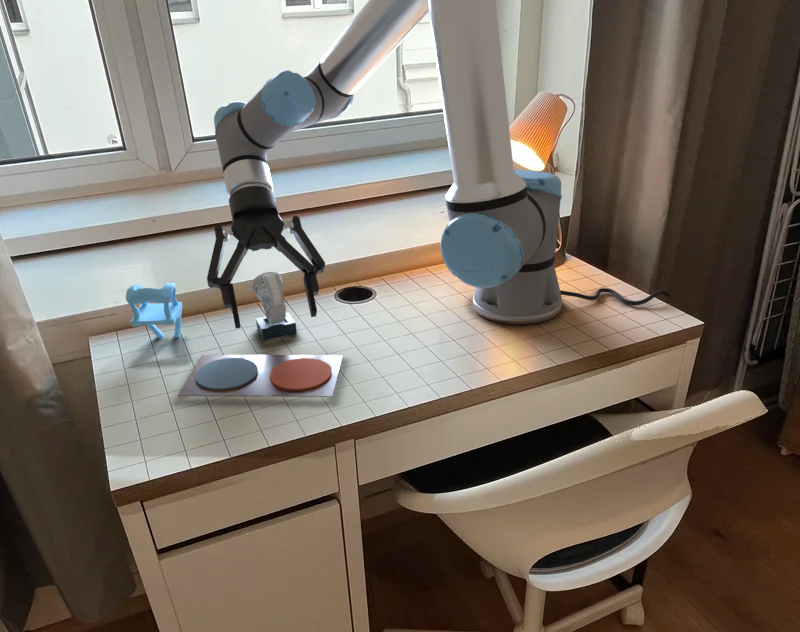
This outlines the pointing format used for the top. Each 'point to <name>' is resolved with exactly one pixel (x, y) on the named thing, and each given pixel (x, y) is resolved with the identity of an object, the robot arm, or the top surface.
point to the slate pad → (226, 373)
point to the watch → (272, 307)
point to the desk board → (264, 378)
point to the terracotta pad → (300, 374)
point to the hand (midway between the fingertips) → (276, 319)
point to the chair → (155, 308)
